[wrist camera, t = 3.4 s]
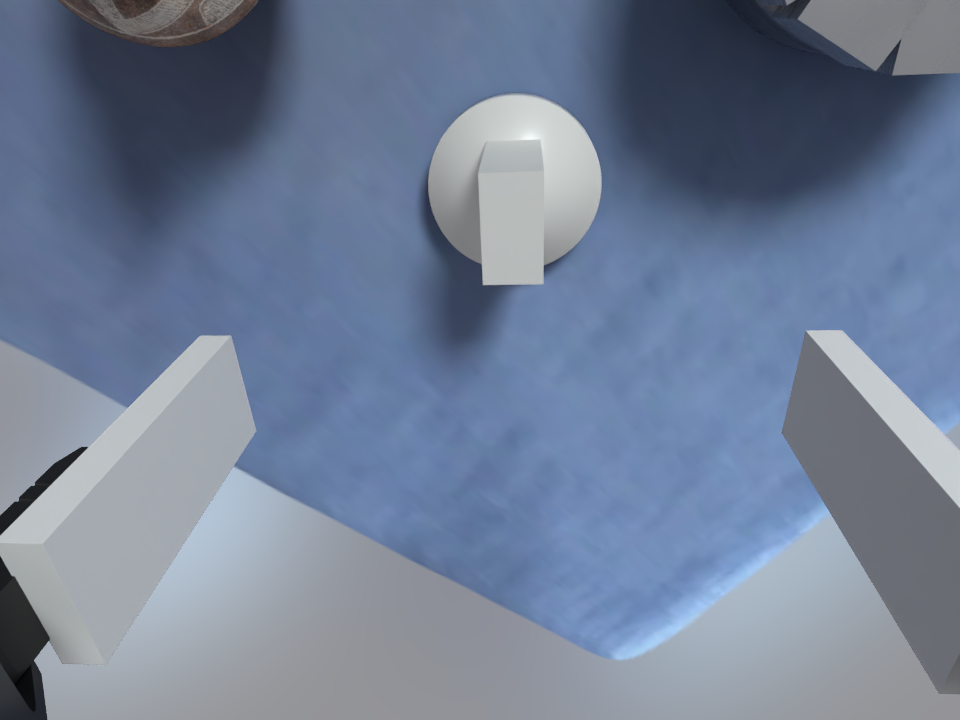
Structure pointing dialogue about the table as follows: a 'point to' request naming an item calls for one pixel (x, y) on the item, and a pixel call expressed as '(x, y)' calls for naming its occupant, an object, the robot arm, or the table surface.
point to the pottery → (162, 19)
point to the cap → (514, 185)
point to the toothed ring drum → (865, 31)
